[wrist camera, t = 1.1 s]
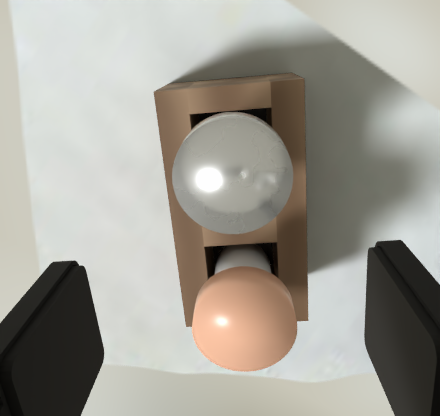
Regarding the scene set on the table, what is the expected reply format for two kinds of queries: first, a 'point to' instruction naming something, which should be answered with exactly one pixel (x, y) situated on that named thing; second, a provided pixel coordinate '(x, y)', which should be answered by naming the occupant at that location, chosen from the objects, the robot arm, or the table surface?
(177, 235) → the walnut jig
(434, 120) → the table surface
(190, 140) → the steel plug
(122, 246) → the table surface
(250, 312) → the peach domed piece
